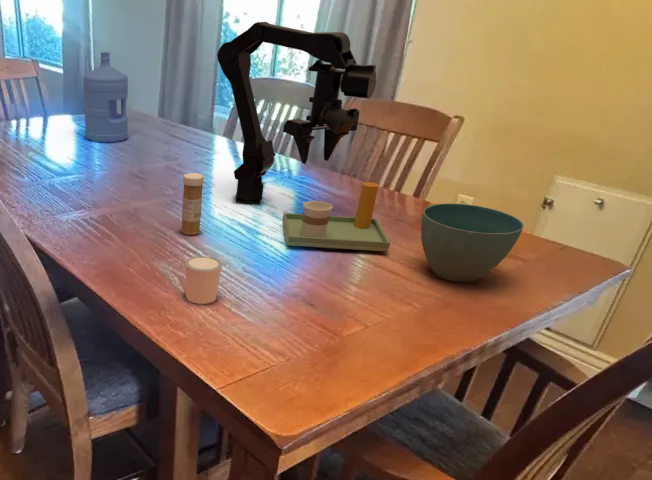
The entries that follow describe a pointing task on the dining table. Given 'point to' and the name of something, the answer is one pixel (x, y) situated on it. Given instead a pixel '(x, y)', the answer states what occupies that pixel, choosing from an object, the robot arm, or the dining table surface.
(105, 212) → the dining table surface
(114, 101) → the water jug
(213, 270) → the peach tapered cup
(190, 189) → the sprinkles bottle
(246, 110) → the robot arm
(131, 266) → the dining table surface
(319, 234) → the beige banded cup
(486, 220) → the dark green bowl
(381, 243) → the tray
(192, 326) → the dining table surface
